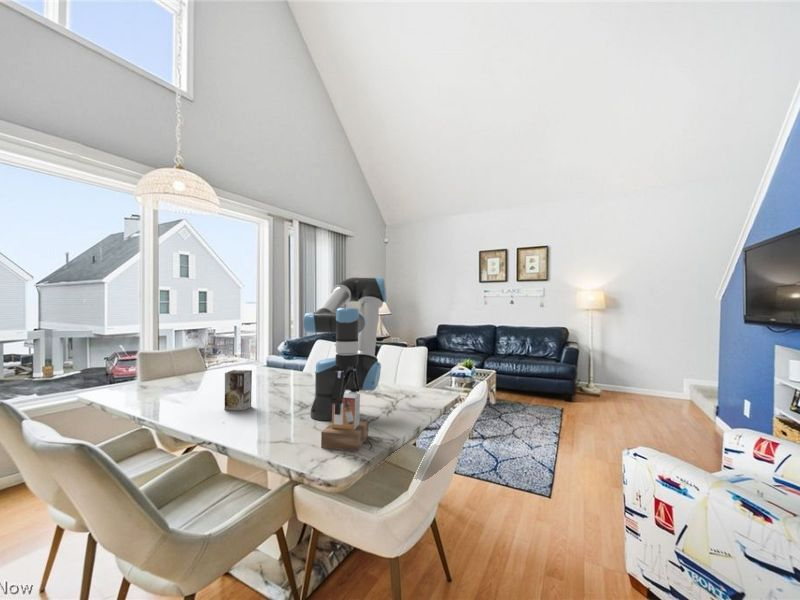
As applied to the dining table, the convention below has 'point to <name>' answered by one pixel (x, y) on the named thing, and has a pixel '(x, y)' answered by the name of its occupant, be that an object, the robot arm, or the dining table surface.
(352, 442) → the walnut block
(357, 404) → the small box
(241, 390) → the coffee box
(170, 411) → the dining table surface
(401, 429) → the dining table surface
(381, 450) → the dining table surface
